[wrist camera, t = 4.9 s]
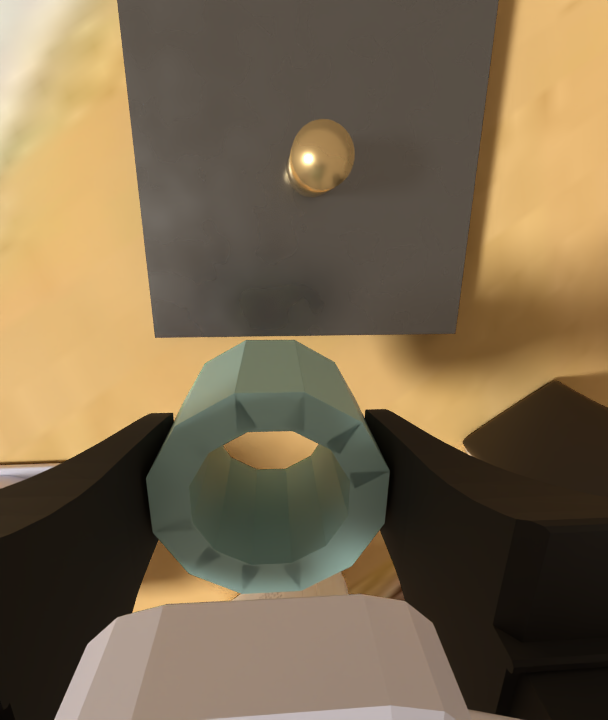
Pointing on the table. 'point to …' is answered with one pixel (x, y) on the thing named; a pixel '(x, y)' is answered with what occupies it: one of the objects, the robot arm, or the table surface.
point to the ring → (268, 473)
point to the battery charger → (549, 440)
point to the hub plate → (306, 161)
